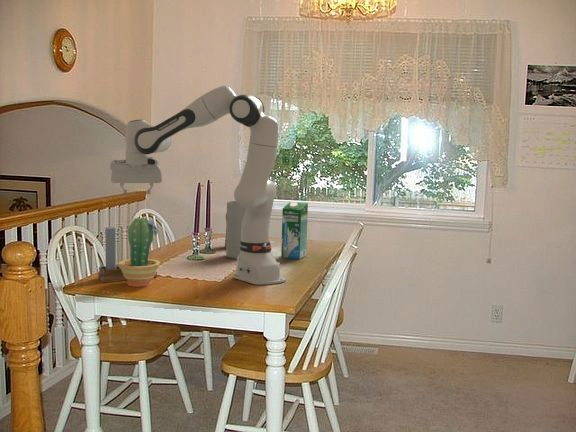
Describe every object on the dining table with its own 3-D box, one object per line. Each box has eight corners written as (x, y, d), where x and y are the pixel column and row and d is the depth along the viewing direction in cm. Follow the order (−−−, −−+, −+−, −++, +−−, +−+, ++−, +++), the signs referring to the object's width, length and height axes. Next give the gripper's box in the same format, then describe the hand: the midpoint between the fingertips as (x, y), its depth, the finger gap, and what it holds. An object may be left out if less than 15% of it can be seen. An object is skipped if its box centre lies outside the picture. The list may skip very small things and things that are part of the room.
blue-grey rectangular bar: (116, 273, 256) (115, 227, 254) (115, 275, 253) (115, 228, 250) (106, 273, 256) (106, 227, 253) (105, 275, 252) (105, 228, 250)
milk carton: (281, 257, 305) (282, 203, 302) (288, 254, 314) (289, 201, 310) (299, 259, 302) (301, 204, 298) (306, 255, 310) (308, 202, 307)
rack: (156, 277, 260) (156, 265, 259) (103, 282, 249) (102, 270, 249) (150, 273, 266) (150, 262, 265) (98, 278, 255) (97, 266, 255)
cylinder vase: (246, 260, 297) (247, 204, 293) (221, 257, 301) (221, 202, 298) (257, 255, 308) (258, 202, 305) (233, 253, 313) (234, 200, 309)
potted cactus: (148, 290, 239) (148, 221, 236) (110, 286, 243) (109, 219, 240) (167, 281, 254) (167, 216, 251) (131, 277, 258) (130, 213, 255)
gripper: (109, 160, 264) (110, 194, 265) (161, 160, 267) (162, 194, 269) (110, 159, 270) (111, 193, 272) (162, 159, 273) (162, 193, 275)
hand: (136, 194), depth 270 cm, fingers open, 8 cm apart
